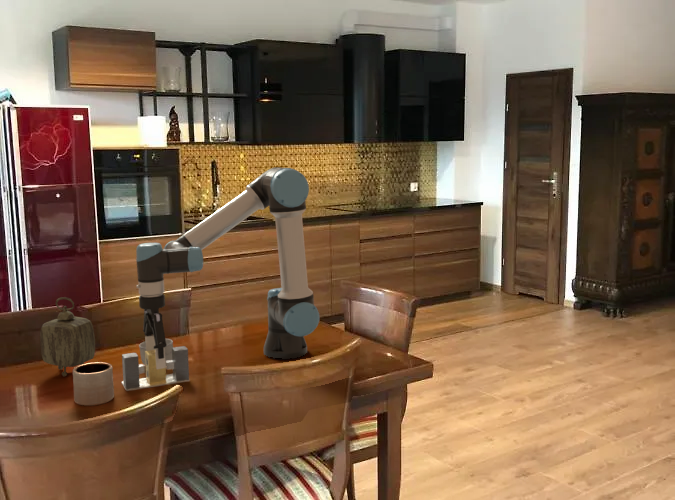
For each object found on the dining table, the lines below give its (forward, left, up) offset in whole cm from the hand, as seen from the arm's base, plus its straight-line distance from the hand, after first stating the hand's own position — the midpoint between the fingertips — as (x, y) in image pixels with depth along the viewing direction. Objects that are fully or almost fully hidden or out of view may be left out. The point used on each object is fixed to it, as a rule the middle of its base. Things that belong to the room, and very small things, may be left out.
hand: (155, 362), depth 216 cm
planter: (+19, +7, -7) cm, 22 cm away
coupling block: (0, 0, -6) cm, 6 cm away
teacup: (-5, -17, -7) cm, 19 cm away
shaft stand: (0, 0, -6) cm, 6 cm away
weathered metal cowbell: (+23, -20, -7) cm, 31 cm away
